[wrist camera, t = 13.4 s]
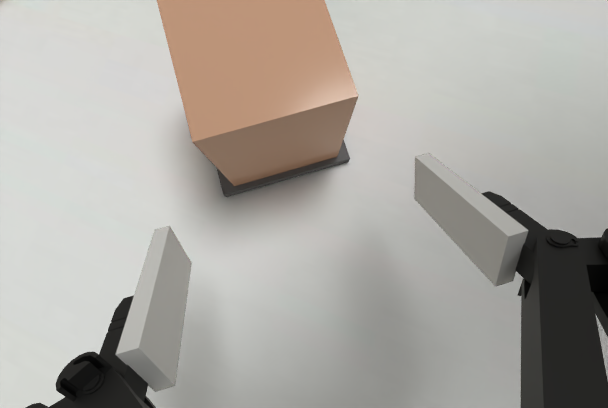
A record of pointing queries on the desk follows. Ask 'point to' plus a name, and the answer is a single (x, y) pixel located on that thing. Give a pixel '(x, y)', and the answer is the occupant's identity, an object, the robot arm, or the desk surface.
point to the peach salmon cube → (260, 82)
